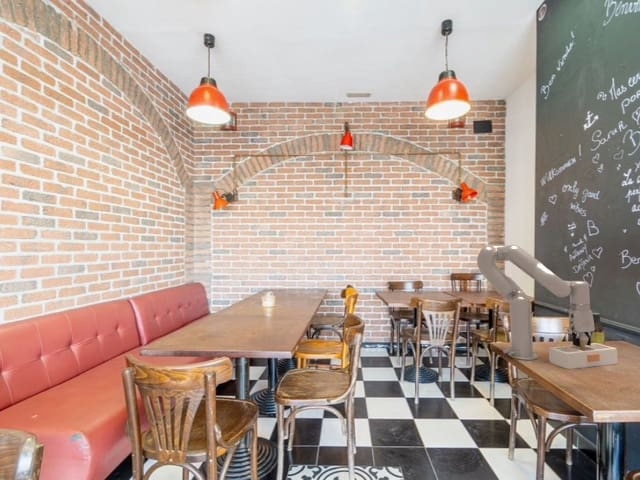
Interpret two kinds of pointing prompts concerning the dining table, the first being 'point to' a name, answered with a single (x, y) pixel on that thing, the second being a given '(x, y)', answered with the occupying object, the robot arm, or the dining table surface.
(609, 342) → the dining table surface
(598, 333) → the sauce bottle
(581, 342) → the ice cream cone
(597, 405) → the dining table surface
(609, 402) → the dining table surface
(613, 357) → the compartment tray
